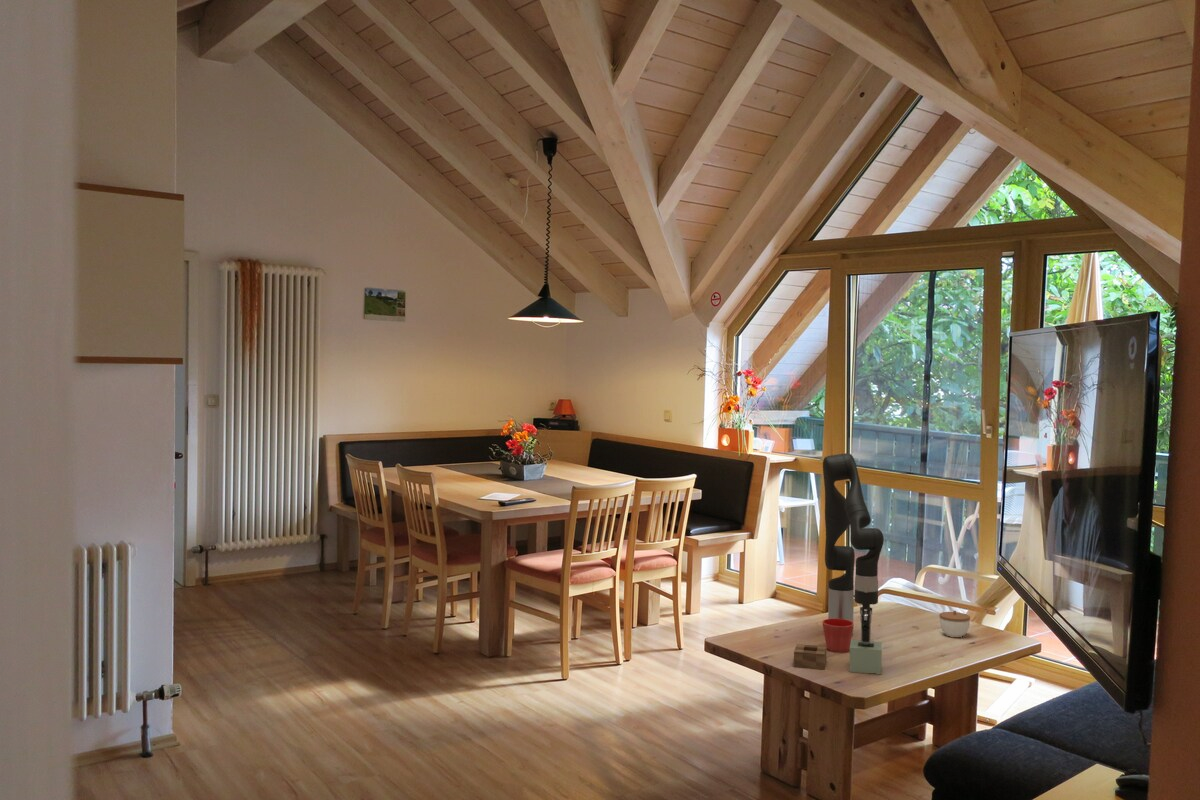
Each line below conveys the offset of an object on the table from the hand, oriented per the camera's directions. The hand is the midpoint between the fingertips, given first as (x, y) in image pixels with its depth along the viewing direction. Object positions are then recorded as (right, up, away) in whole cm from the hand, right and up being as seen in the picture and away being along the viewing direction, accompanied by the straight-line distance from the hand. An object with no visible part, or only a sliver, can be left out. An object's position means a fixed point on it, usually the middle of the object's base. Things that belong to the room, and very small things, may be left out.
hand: (865, 639), depth 314 cm
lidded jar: (+45, -9, +42) cm, 62 cm away
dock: (0, -10, 0) cm, 10 cm away
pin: (0, -7, 0) cm, 7 cm away
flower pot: (-3, -9, +23) cm, 25 cm away
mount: (-17, -9, +5) cm, 20 cm away
